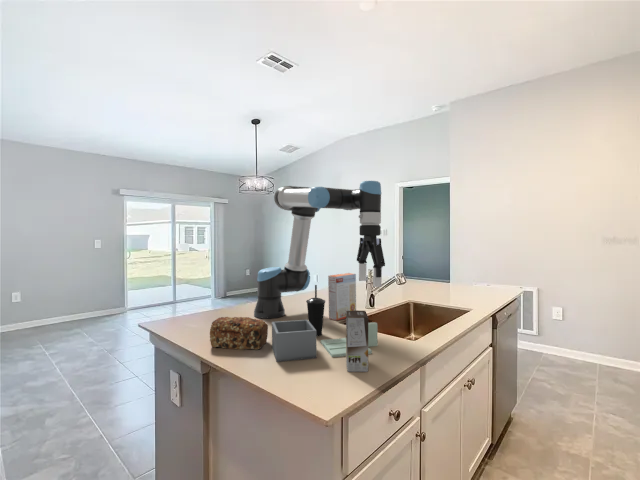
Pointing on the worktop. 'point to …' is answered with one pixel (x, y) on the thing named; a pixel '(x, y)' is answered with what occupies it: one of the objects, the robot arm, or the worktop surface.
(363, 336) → the coffee box
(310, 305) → the drinking cup
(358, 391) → the worktop surface
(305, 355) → the tub
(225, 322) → the bread
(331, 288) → the cracker box
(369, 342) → the lid
